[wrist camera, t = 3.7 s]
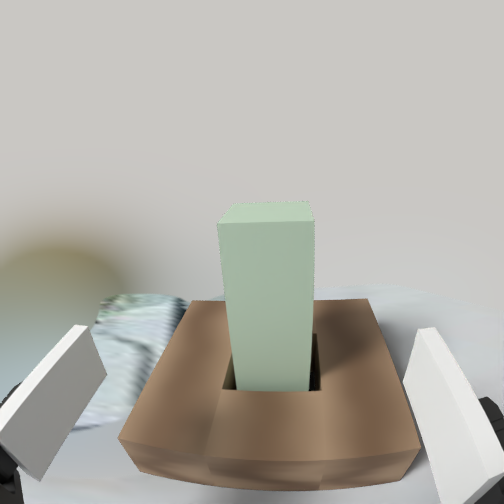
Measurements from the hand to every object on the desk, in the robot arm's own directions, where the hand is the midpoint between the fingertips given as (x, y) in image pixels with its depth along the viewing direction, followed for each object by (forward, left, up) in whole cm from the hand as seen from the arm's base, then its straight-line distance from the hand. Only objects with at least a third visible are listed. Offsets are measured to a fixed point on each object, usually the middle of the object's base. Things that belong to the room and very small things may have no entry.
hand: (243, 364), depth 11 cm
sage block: (-1, -7, -10) cm, 12 cm away
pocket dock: (-1, -7, -10) cm, 12 cm away
